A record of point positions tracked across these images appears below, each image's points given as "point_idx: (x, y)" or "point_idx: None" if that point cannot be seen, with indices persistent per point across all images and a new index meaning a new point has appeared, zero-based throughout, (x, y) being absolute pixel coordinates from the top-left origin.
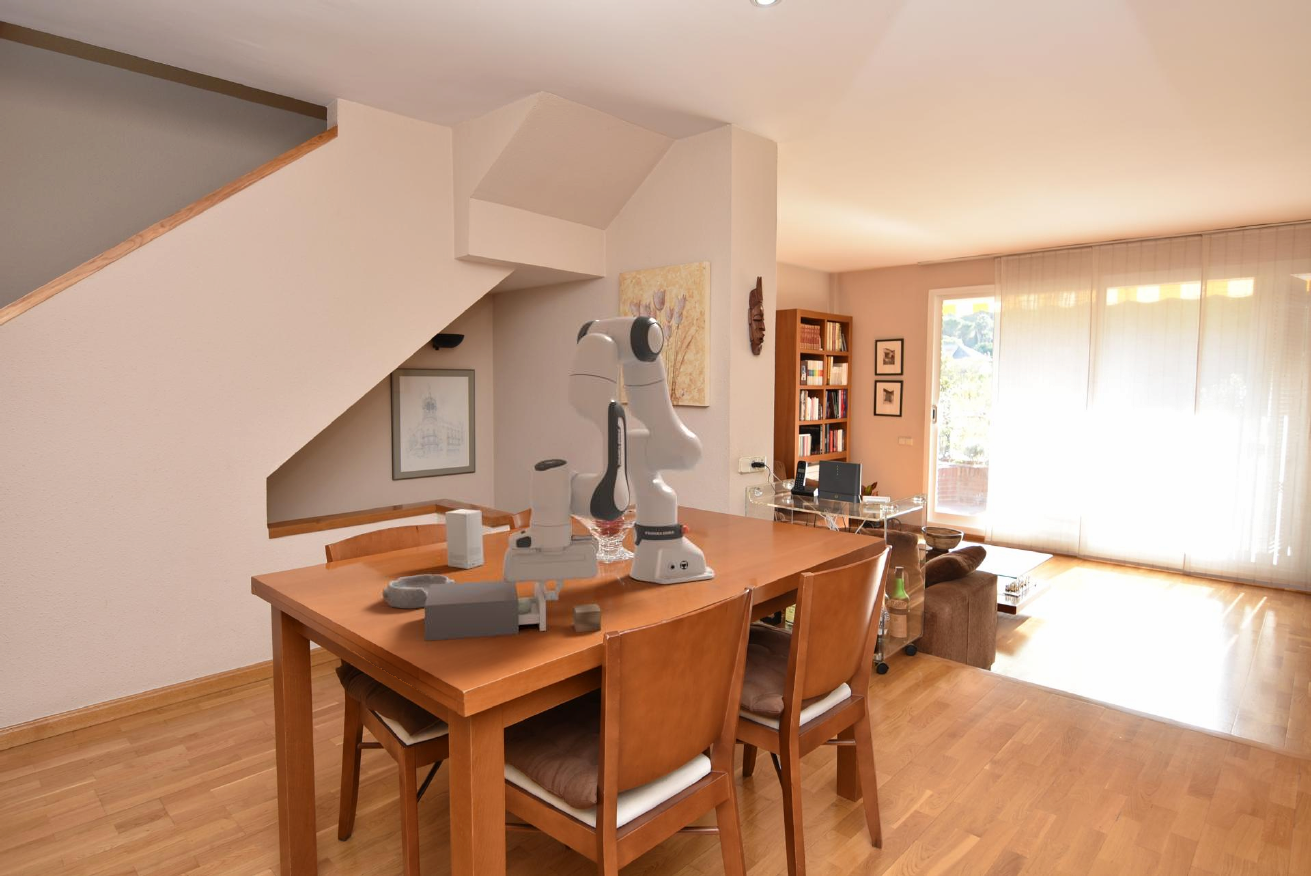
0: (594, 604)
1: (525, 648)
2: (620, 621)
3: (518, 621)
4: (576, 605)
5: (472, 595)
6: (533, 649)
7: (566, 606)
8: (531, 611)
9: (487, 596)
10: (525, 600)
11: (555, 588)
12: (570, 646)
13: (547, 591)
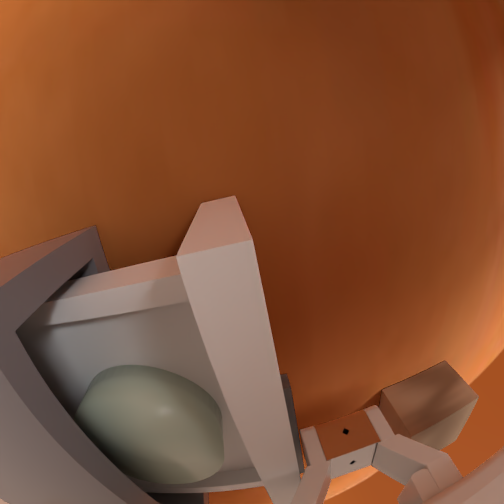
0: (471, 403)
1: (247, 499)
2: (489, 335)
3: (208, 492)
4: (421, 431)
5: (27, 498)
6: (265, 500)
7: (381, 148)
8: (225, 419)
9: None
10: (185, 441)
11: (389, 453)
12: (341, 481)
13: (332, 462)
